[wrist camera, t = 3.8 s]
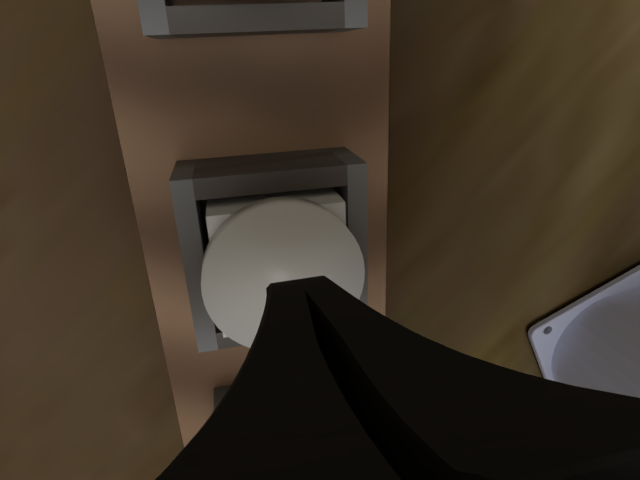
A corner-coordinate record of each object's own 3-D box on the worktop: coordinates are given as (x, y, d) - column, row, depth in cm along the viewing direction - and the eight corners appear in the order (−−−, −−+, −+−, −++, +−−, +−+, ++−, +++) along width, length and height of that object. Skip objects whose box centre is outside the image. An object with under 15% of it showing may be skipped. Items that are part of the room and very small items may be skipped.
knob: (195, 176, 17) (188, 214, 13) (332, 164, 18) (364, 195, 14) (213, 299, 19) (212, 363, 15) (335, 282, 20) (365, 339, 16)
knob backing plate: (41, -294, 13) (-42, -457, 9) (378, -266, 15) (442, -390, 10) (201, 500, 25) (198, 586, 21) (374, 463, 27) (402, 536, 23)
